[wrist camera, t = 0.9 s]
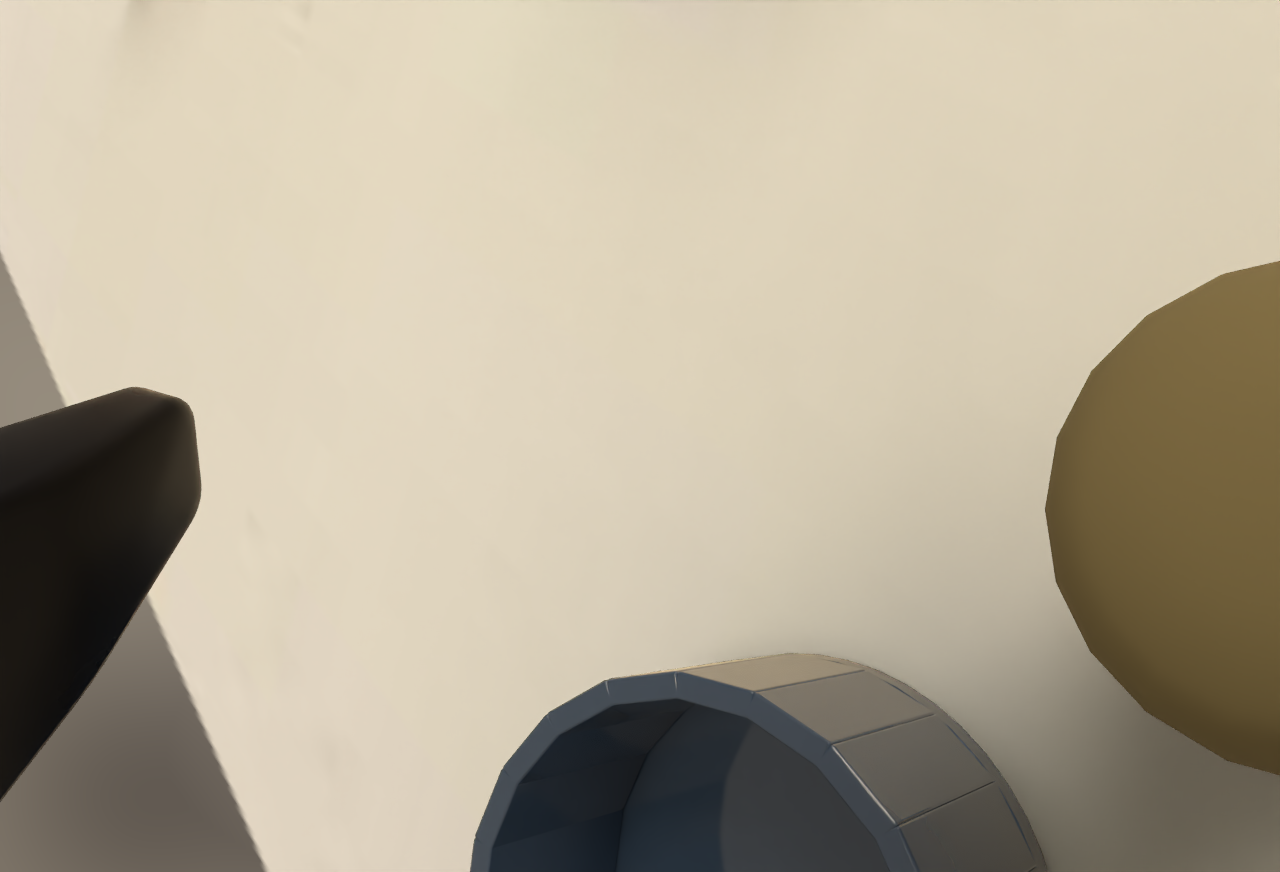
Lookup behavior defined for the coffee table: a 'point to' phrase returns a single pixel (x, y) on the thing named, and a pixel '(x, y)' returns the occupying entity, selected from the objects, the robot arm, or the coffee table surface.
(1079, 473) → the brown cylinder with knob
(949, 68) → the coffee table surface
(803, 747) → the blue-grey round bowl
